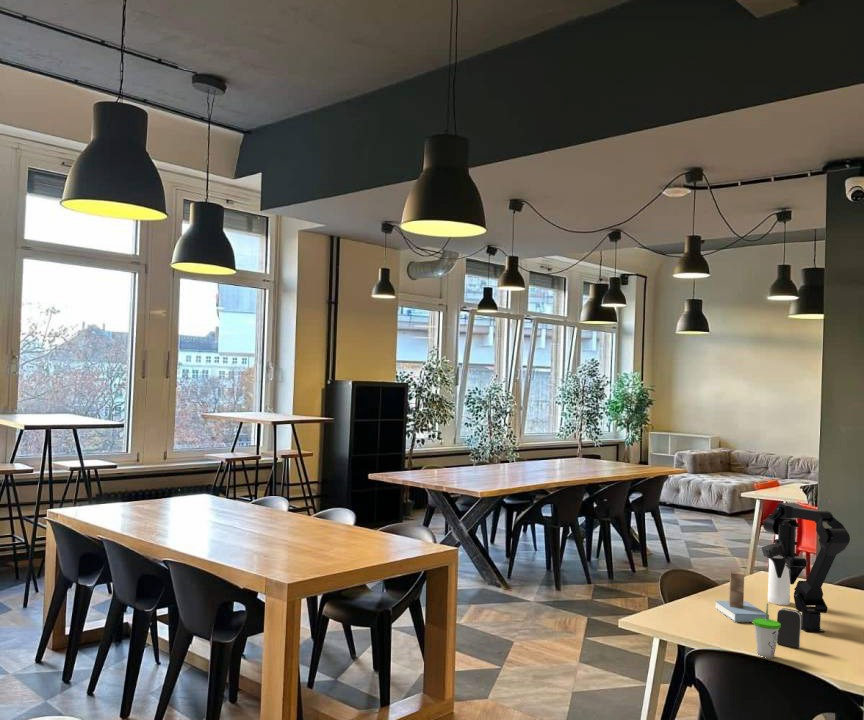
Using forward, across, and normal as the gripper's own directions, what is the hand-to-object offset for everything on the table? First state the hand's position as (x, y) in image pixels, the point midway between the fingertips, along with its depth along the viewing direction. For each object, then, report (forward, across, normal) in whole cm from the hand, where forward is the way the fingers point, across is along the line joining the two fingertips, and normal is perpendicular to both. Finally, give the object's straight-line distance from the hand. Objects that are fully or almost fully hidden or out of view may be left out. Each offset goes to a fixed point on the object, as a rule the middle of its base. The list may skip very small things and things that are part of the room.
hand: (785, 581), depth 281 cm
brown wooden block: (+10, -2, -17) cm, 20 cm away
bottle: (+13, -20, +8) cm, 25 cm away
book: (+13, 0, -16) cm, 21 cm away
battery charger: (+13, +32, -15) cm, 38 cm away
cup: (+13, +43, -28) cm, 53 cm away
